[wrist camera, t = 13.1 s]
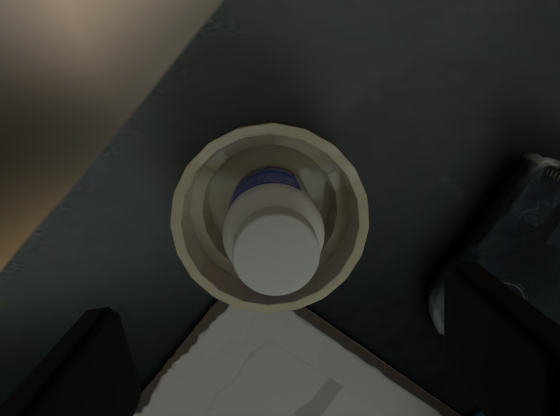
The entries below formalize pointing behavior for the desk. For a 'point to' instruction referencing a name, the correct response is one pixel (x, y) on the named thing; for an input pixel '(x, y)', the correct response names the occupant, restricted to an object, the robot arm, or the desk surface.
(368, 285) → the desk surface
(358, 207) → the basin
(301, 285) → the pill bottle
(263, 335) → the picture frame
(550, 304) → the black pouch
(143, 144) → the desk surface
